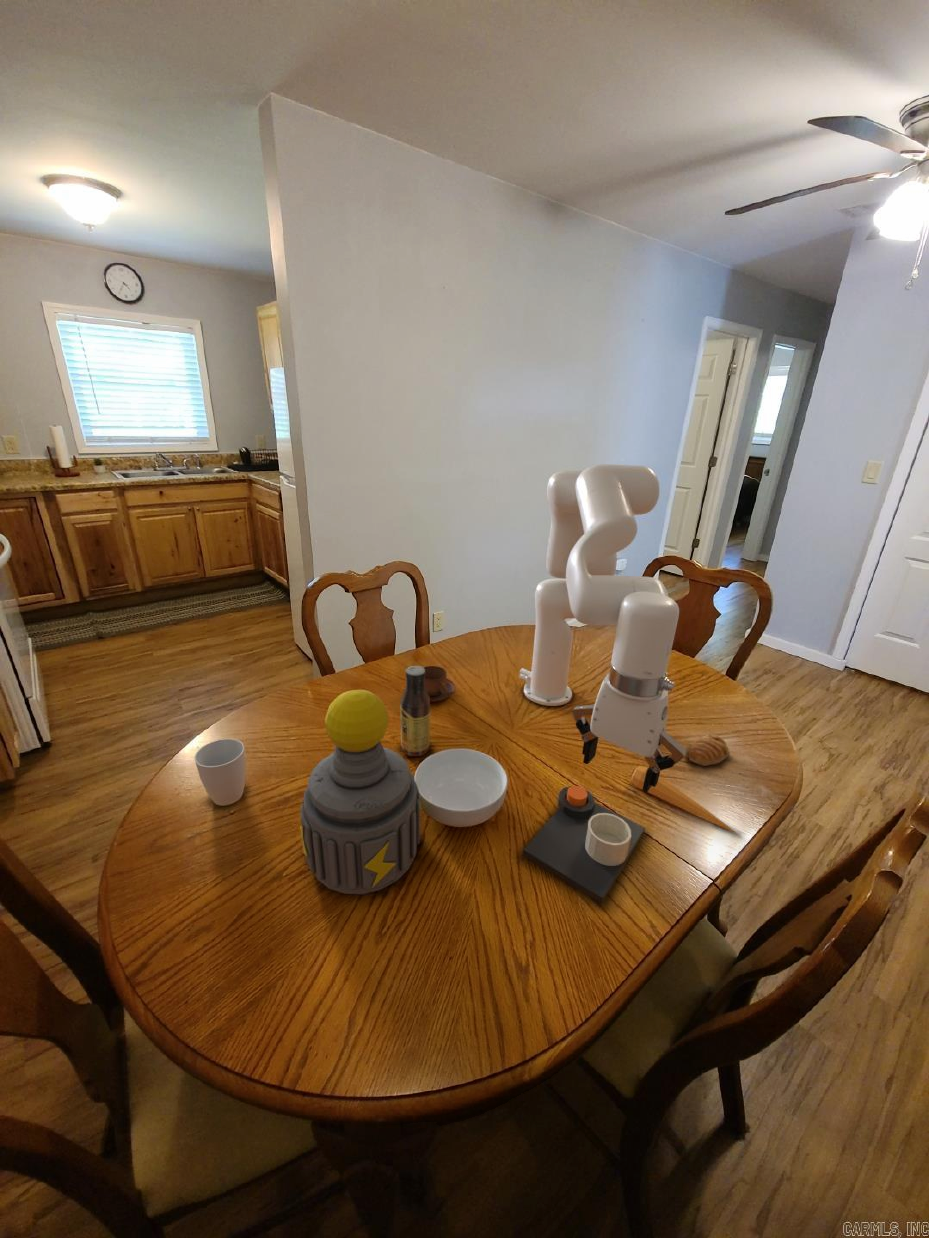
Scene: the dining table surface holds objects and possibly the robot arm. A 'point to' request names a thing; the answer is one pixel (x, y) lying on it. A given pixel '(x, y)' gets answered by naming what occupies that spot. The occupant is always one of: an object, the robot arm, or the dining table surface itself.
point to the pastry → (708, 750)
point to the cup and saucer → (438, 683)
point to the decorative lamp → (360, 802)
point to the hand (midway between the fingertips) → (617, 772)
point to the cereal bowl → (461, 787)
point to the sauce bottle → (415, 713)
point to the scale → (577, 848)
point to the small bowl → (607, 839)
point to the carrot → (674, 797)
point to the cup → (222, 770)
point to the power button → (577, 796)
